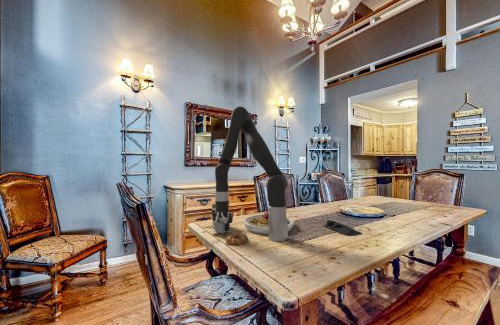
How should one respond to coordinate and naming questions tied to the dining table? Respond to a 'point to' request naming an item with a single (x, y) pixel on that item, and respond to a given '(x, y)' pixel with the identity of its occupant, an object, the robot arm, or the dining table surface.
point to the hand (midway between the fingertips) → (222, 229)
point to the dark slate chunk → (341, 228)
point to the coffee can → (214, 216)
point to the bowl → (262, 223)
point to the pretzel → (237, 239)
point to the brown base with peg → (222, 234)
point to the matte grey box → (220, 227)
